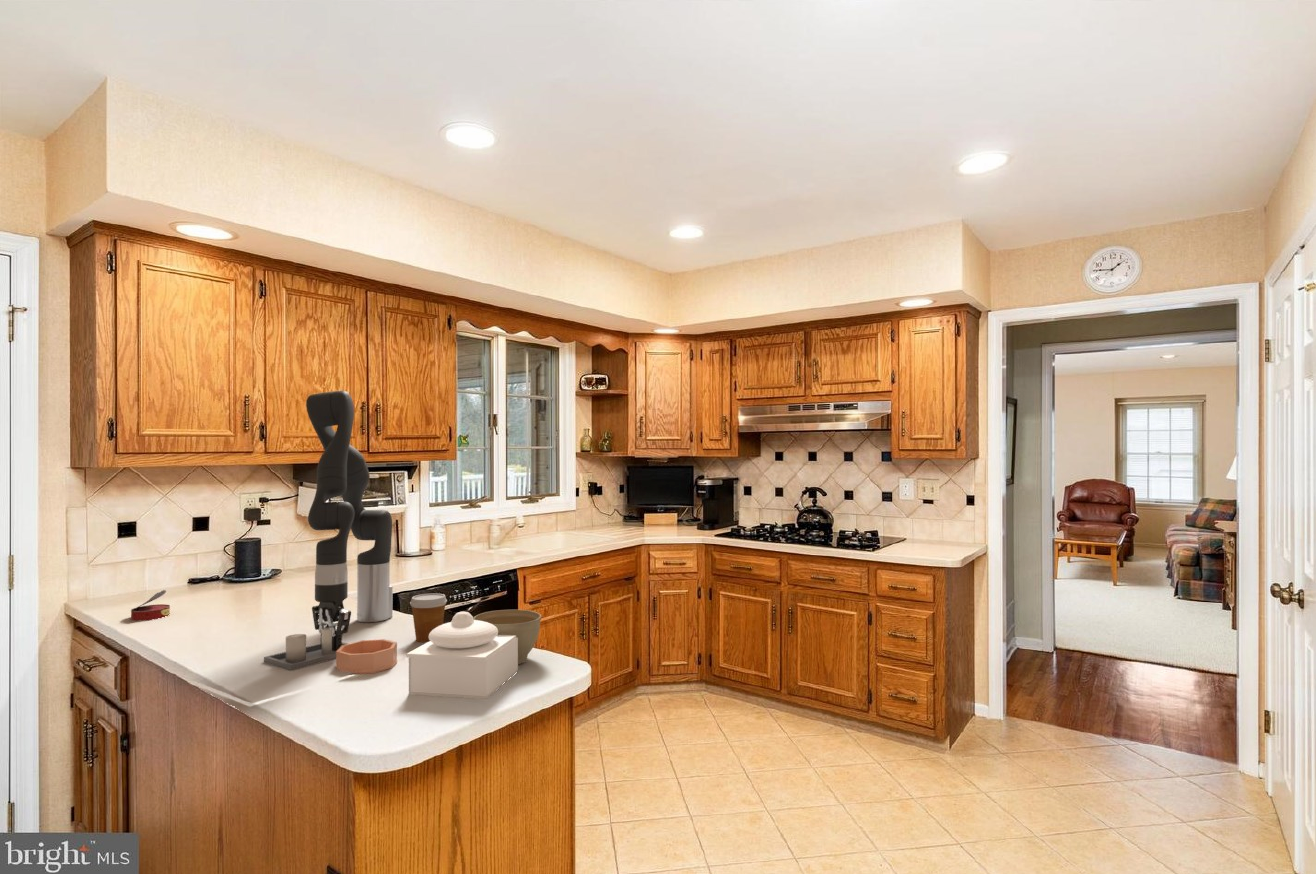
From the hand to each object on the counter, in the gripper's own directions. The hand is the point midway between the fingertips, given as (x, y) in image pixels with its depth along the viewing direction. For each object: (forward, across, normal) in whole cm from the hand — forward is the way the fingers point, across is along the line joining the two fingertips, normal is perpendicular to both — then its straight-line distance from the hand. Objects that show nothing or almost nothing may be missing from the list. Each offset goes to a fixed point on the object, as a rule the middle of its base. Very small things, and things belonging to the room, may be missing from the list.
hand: (331, 648), depth 176 cm
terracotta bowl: (+1, -16, 0) cm, 16 cm away
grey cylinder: (+1, 0, +9) cm, 9 cm away
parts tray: (+1, 0, +4) cm, 5 cm away
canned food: (+2, +86, +8) cm, 87 cm away
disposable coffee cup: (+2, -10, -22) cm, 24 cm away
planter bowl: (+2, -42, -20) cm, 46 cm away
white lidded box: (+2, -46, -4) cm, 46 cm away
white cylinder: (+1, 0, 0) cm, 1 cm away
